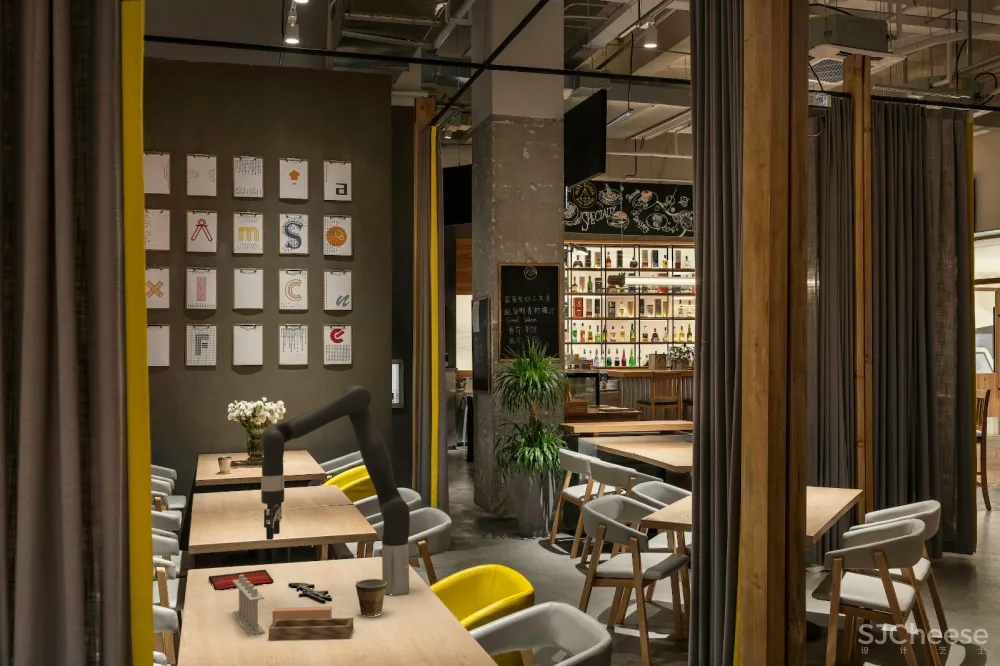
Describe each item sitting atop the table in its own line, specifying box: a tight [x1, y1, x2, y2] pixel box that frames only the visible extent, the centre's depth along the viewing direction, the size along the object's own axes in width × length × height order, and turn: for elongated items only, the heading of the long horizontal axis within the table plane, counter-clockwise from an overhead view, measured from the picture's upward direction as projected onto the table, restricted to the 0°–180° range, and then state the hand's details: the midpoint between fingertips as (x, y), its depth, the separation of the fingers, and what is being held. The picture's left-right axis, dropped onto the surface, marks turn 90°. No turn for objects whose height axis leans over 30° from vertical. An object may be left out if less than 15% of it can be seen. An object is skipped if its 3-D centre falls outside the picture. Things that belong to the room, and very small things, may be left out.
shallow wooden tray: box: [268, 617, 354, 641], centre depth 268 cm, size 24×9×3 cm, turn 92°
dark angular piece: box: [287, 582, 333, 605], centre depth 310 cm, size 28×2×10 cm
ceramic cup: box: [355, 578, 387, 617], centre depth 288 cm, size 13×10×10 cm
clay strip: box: [271, 605, 333, 623], centre depth 280 cm, size 18×4×4 cm, turn 93°
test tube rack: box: [232, 575, 266, 636], centre depth 279 cm, size 25×4×13 cm, turn 29°
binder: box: [208, 569, 274, 591], centre depth 326 cm, size 16×2×21 cm
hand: (273, 536), depth 297 cm, fingers open, 8 cm apart
